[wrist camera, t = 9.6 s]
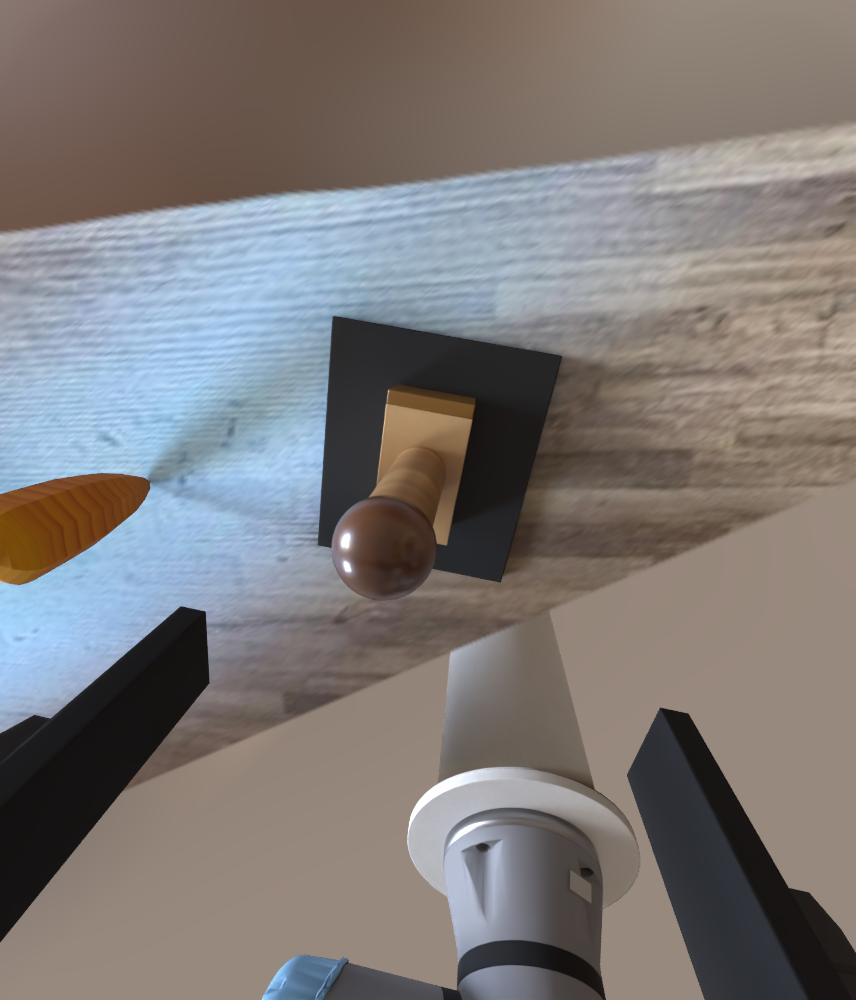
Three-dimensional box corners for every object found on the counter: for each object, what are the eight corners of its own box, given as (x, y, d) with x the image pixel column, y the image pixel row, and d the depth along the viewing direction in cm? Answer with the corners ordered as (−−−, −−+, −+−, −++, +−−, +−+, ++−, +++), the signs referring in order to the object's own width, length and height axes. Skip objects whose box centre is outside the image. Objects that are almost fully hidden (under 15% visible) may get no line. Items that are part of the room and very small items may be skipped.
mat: (500, 577, 31) (500, 582, 30) (321, 540, 31) (317, 545, 31) (560, 355, 25) (562, 356, 24) (336, 316, 25) (332, 315, 25)
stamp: (397, 383, 26) (306, 431, 12) (476, 398, 25) (471, 462, 12) (381, 512, 29) (296, 660, 16) (450, 526, 29) (423, 688, 15)
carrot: (167, 523, 32) (-66, 659, 19) (110, 489, 32) (-173, 604, 18) (186, 474, 31) (-56, 585, 17) (126, 438, 30) (-175, 521, 16)
